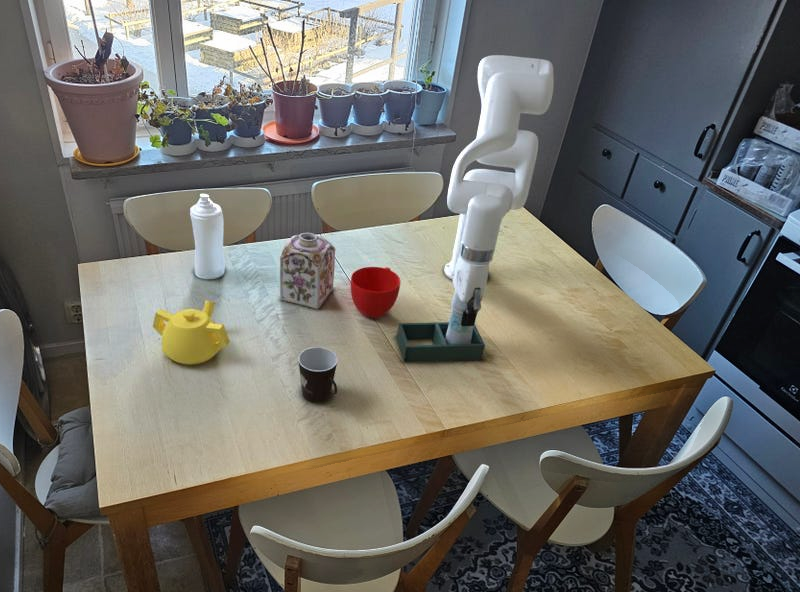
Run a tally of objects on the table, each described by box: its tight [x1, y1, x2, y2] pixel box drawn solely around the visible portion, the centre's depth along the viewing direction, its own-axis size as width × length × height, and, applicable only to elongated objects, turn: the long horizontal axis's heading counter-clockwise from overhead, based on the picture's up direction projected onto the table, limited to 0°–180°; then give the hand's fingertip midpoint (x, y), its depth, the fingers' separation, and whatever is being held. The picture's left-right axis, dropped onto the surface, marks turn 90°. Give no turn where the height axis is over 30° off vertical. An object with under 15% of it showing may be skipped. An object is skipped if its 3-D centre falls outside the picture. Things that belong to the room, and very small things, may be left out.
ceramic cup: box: [350, 266, 402, 319], centre depth 169 cm, size 13×17×10 cm
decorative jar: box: [279, 232, 336, 310], centre depth 171 cm, size 12×12×18 cm
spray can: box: [189, 193, 226, 280], centre depth 175 cm, size 12×11×25 cm
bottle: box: [444, 289, 474, 344], centre depth 153 cm, size 7×7×20 cm
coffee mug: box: [297, 346, 339, 404], centre depth 139 cm, size 12×9×10 cm
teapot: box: [152, 300, 231, 366], centre depth 153 cm, size 20×18×11 cm
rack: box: [396, 321, 486, 363], centre depth 157 cm, size 10×19×4 cm, turn 95°
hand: (463, 316), depth 153 cm, fingers closed on bottle, 6 cm apart
